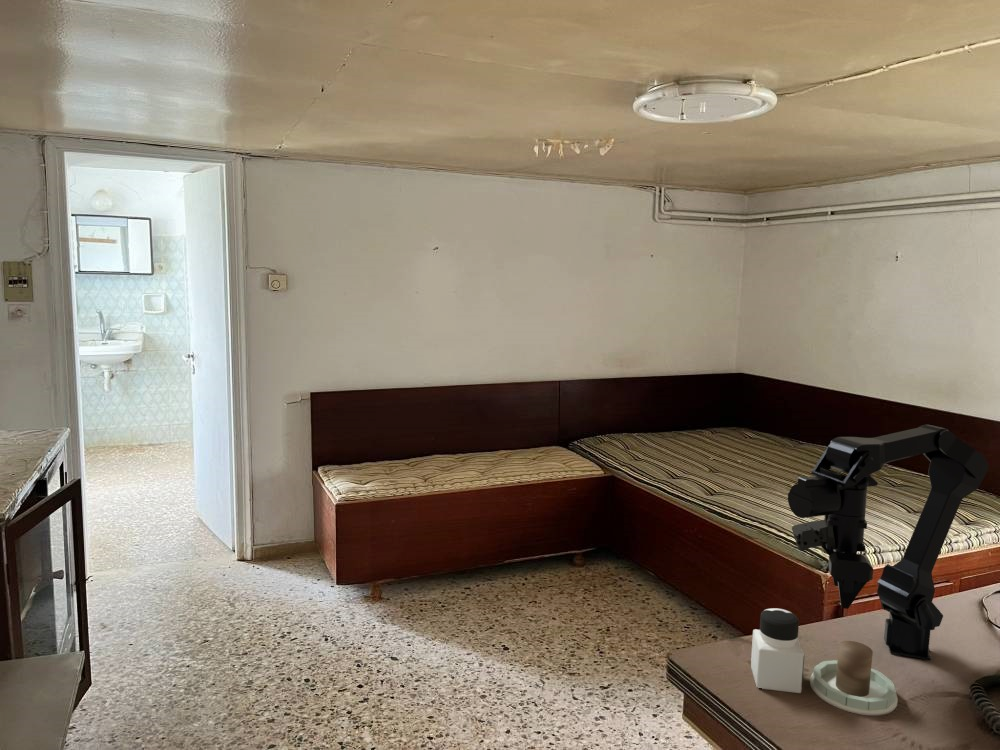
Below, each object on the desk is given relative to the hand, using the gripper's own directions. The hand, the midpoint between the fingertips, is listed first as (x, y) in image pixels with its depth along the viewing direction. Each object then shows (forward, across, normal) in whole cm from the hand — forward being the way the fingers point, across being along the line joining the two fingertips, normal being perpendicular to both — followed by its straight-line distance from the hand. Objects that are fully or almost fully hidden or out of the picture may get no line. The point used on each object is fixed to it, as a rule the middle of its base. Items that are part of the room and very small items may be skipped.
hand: (840, 596), depth 125 cm
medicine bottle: (+13, +9, -11) cm, 19 cm away
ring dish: (+12, +9, +1) cm, 15 cm away
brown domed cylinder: (+12, +9, +1) cm, 15 cm away
